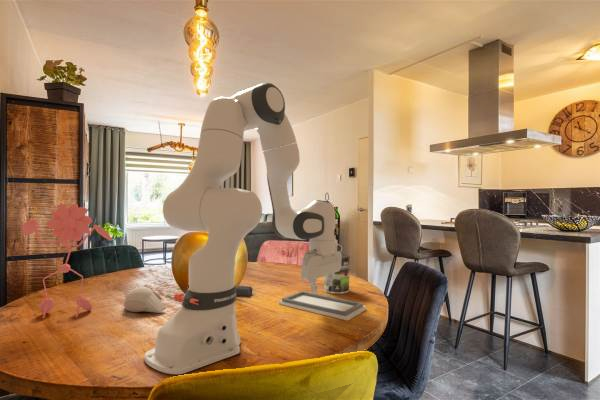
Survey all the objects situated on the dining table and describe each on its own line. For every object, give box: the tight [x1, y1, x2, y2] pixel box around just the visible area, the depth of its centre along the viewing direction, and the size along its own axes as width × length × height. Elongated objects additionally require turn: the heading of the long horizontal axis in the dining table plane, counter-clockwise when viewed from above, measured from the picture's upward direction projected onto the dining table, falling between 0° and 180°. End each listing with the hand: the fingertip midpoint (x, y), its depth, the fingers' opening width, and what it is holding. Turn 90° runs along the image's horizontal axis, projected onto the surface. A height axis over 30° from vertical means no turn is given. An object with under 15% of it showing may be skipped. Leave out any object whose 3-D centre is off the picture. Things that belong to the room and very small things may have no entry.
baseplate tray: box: [278, 290, 367, 322], centre depth 114 cm, size 13×27×2 cm, turn 54°
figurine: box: [21, 203, 112, 319], centre depth 107 cm, size 15×26×35 cm, turn 100°
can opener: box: [236, 285, 253, 297], centre depth 128 cm, size 19×6×5 cm
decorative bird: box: [123, 286, 167, 314], centre depth 108 cm, size 9×16×8 cm, turn 58°
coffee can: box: [323, 253, 350, 295], centre depth 134 cm, size 10×10×14 cm
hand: (321, 288), depth 113 cm, fingers open, 8 cm apart
